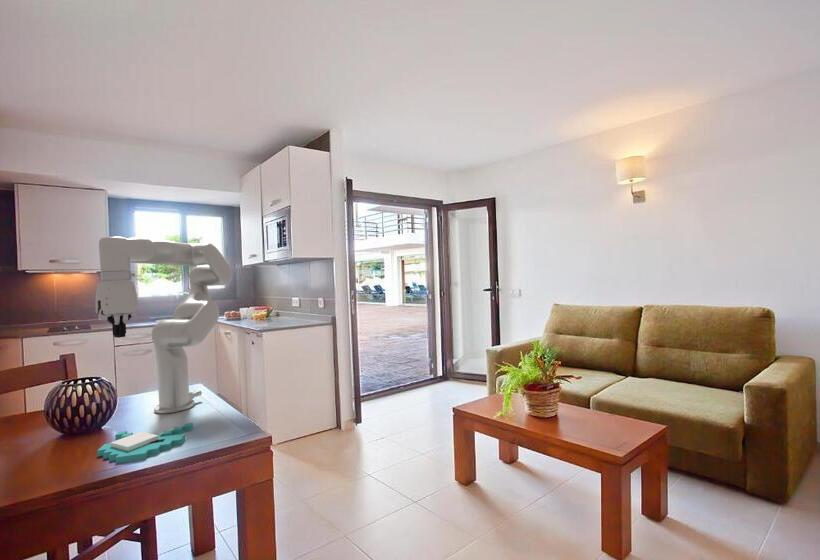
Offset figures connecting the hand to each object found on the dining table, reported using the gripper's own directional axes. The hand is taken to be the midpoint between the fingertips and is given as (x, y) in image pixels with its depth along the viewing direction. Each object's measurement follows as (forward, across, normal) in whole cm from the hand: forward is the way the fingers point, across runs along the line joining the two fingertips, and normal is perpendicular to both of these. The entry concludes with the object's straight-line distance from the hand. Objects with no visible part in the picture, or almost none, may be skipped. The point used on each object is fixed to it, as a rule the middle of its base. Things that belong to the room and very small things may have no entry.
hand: (119, 336), depth 127 cm
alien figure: (+30, +5, +18) cm, 35 cm away
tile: (+27, +3, +18) cm, 32 cm away
